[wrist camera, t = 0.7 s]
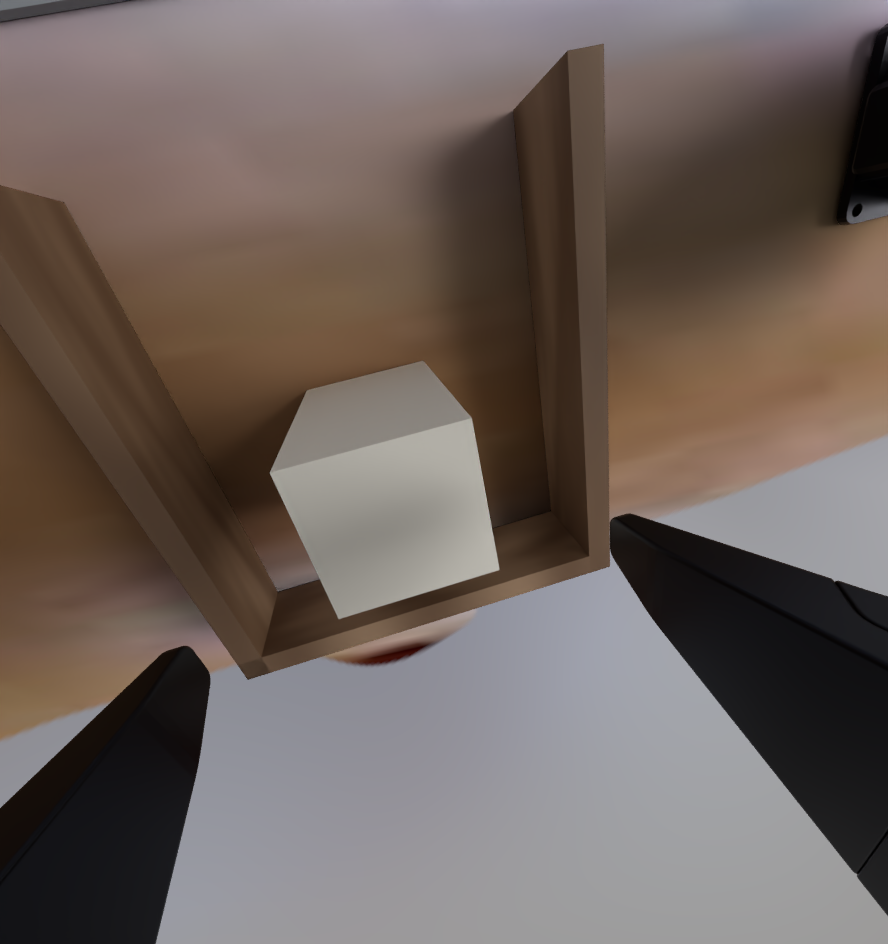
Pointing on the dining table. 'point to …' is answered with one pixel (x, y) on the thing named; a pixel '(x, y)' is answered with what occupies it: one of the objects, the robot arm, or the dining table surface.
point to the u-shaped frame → (192, 482)
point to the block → (386, 488)
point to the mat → (43, 7)
